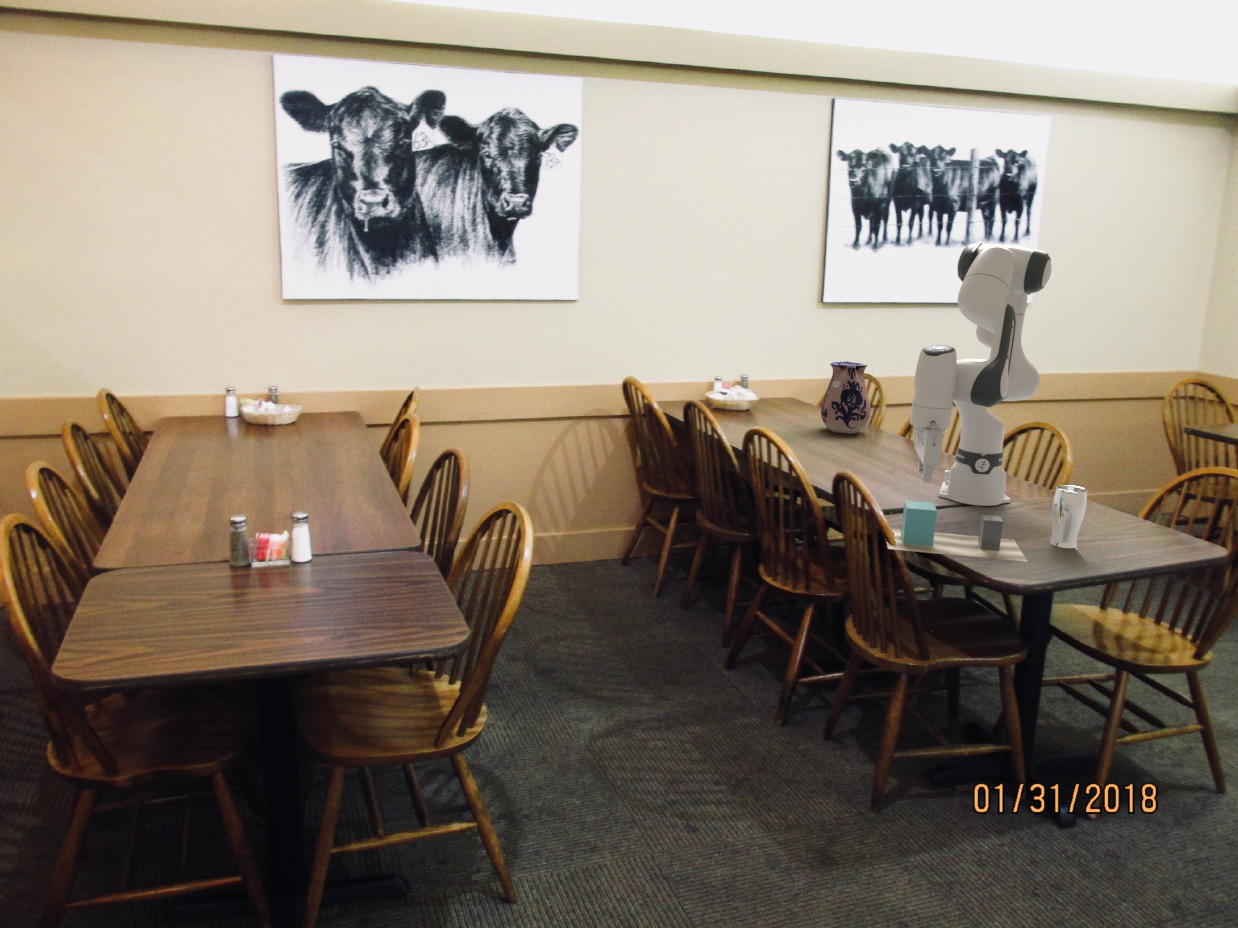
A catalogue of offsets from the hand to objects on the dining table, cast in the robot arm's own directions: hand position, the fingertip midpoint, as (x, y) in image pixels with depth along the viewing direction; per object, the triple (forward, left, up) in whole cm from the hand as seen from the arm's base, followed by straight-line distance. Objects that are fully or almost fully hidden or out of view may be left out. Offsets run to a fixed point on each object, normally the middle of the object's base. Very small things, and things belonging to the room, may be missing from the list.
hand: (924, 477), depth 218 cm
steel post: (0, +16, -16) cm, 22 cm away
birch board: (0, +8, -17) cm, 19 cm away
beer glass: (-8, +34, -17) cm, 39 cm away
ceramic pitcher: (-132, -14, -17) cm, 134 cm away
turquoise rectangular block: (0, 0, -16) cm, 15 cm away
